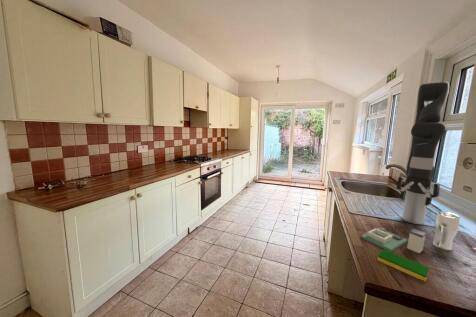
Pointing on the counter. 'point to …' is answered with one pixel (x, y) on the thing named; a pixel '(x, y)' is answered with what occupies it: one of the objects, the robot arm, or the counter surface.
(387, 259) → the dish sponge
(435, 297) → the counter surface
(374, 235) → the board
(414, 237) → the plug
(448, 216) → the beer glass
